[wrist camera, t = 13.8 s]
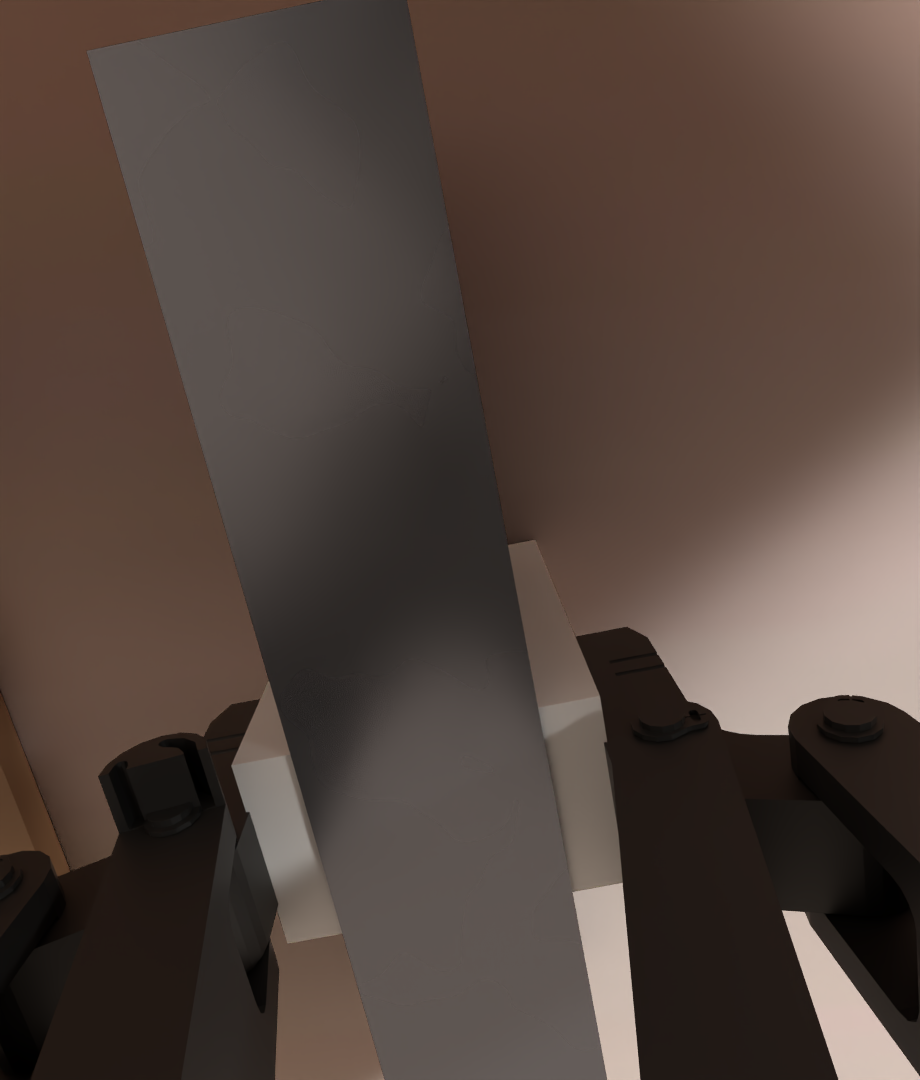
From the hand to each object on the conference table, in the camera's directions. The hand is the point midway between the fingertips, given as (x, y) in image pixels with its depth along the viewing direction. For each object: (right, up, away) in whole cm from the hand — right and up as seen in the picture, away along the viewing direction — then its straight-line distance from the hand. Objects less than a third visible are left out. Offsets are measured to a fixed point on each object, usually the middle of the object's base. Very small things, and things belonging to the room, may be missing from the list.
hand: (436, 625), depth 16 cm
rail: (0, 0, -2) cm, 2 cm away
